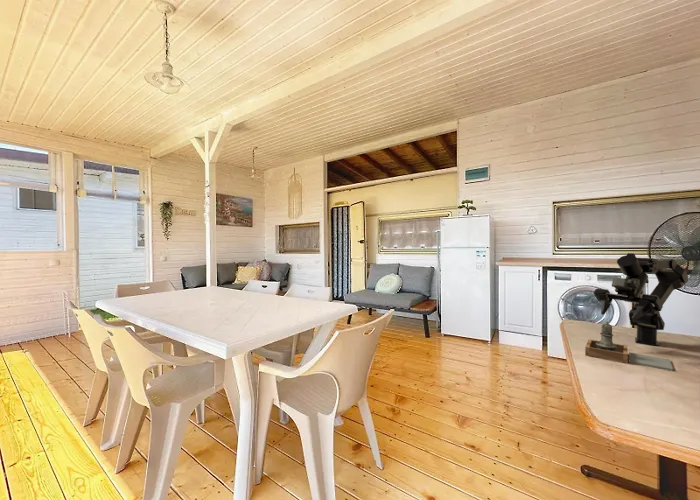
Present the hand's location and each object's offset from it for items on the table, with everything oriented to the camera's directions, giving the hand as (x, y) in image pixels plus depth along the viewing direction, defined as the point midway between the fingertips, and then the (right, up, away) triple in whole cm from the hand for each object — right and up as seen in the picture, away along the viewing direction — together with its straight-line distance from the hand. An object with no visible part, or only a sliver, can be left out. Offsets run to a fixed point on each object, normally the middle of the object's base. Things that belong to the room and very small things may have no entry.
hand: (616, 316), depth 111 cm
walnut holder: (-6, -13, -2) cm, 14 cm away
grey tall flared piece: (-6, -13, -2) cm, 15 cm away
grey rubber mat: (+3, -13, -9) cm, 16 cm away
